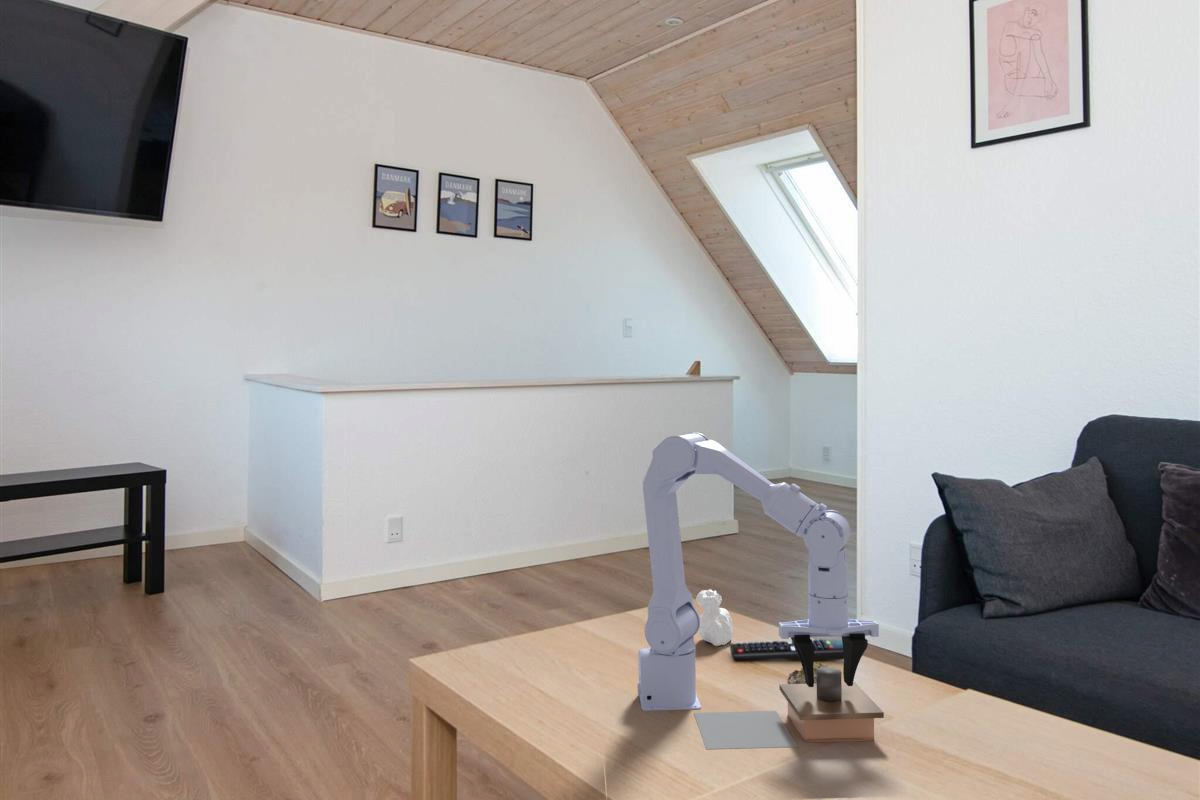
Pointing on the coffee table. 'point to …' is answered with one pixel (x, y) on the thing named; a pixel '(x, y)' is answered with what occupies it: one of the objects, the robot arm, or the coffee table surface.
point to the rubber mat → (743, 730)
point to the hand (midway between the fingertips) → (828, 684)
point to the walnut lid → (830, 698)
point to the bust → (714, 619)
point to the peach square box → (833, 729)
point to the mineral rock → (799, 677)
